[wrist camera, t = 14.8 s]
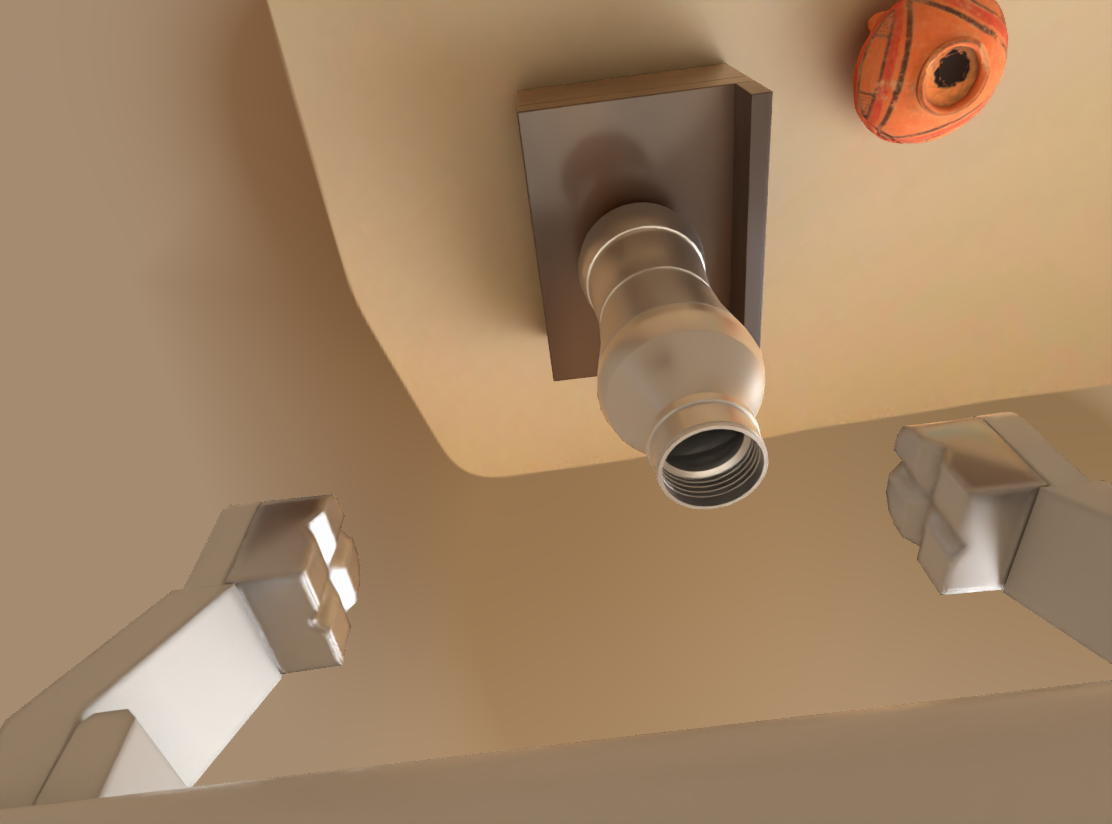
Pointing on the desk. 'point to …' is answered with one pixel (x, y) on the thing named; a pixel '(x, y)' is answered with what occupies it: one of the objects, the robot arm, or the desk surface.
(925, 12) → the pot
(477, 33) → the desk surface
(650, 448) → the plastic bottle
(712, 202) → the shelf
